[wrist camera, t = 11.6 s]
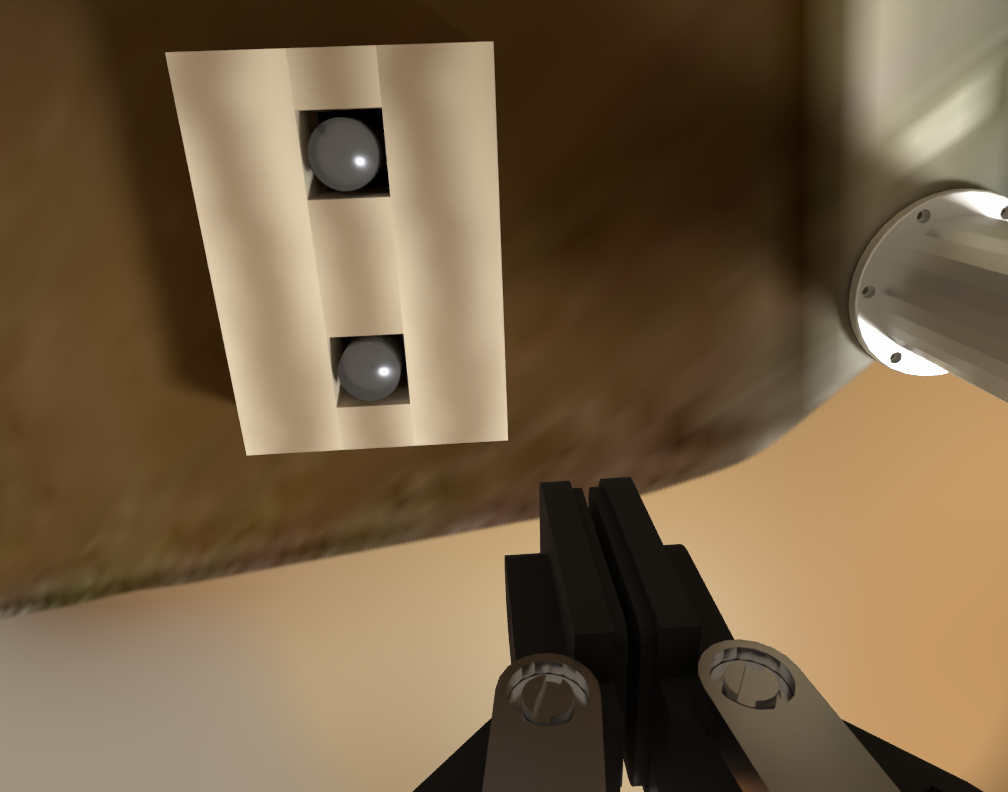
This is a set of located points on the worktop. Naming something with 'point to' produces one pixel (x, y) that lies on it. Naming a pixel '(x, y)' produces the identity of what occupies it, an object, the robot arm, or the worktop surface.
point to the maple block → (351, 240)
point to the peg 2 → (372, 365)
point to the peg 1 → (347, 152)
